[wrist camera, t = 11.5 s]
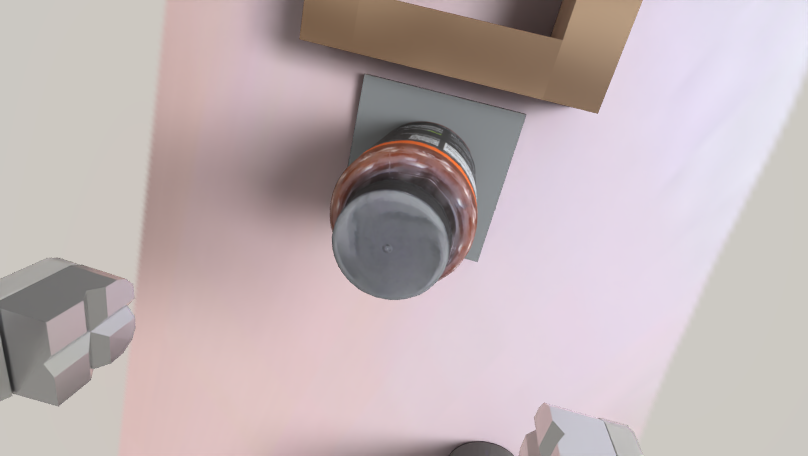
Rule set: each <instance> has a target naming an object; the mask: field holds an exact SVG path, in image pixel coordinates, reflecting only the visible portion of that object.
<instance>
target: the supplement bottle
mask: <svg viewBox="0 0 808 456" xmlns="http://www.w3.org/2000/svg"><path fill="white" fill-rule="evenodd" d="M330 223H331V228H332V232H333V234H332V247H333V252H334V256H335V259H336V262H337V264H338V266H339V268H340V269H341V271H342V273H343V274H344V275H345V276H346V278H347V279H348V280H349V281H350V282H351V283H352V284H354V285H355V286H356V287H357V288H358V289H360V290H361V291H363V292H365V293H367V294H370V295H372V296H374V297H378V298H382V299H388V300H400V299H407V298H411V297H414V296H417V295H420V294H421V293H423V292H425V291H427V290H428V289H429V288H430V287H431V286H433V285H434V284H435V283H436V282H437V281H439V280H441V279H442V278H444V277H446V276H447V275H449V274H450V273H451V272H452V271H454V270H455V269H456V268H457V267H458V266H459V265H460V264H461V262H462V261H463V259H464V258H465V256H466V255H467V254H468V252H469V250H470V248H471V246H472V243H473V240H474V237H475V233H476V228H477V193H476V174H475V165H474V161H473V158H472V155H471V153H470V150H469V148H468V147H467V145H466V144H465V142H464V141H463V140H462V139H461V138H460V137H459V136H458V135H457V134H456V133H455V132H454V131H452V130H451V129H448V128H447V127H445V126H442V125H440V124H437V123H433V122H412V123H408V124H405V125H402V126H400V127H398V128H396V129H394V130H393V131H391V132H390V133H388V134H387V135H386V136H385V137H383V138H382V139H381V140H379V141H378V142H377V143H376V144H374V145H373V146H372V147H370V148H369V149H368V150H366V151H365V152H364V153H363V154H361V155H360V156H359V157H358V158H357V159H356V160H355V161H354V162H353V163H351V164H350V165H349V166H348V168H347V169H346V170H345V171H344V172H343V174H342V175H341V177H340V178H339V180H338V182H337V184H336V186H335V189H334V191H333V194H332V199H331V205H330Z"/></svg>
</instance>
